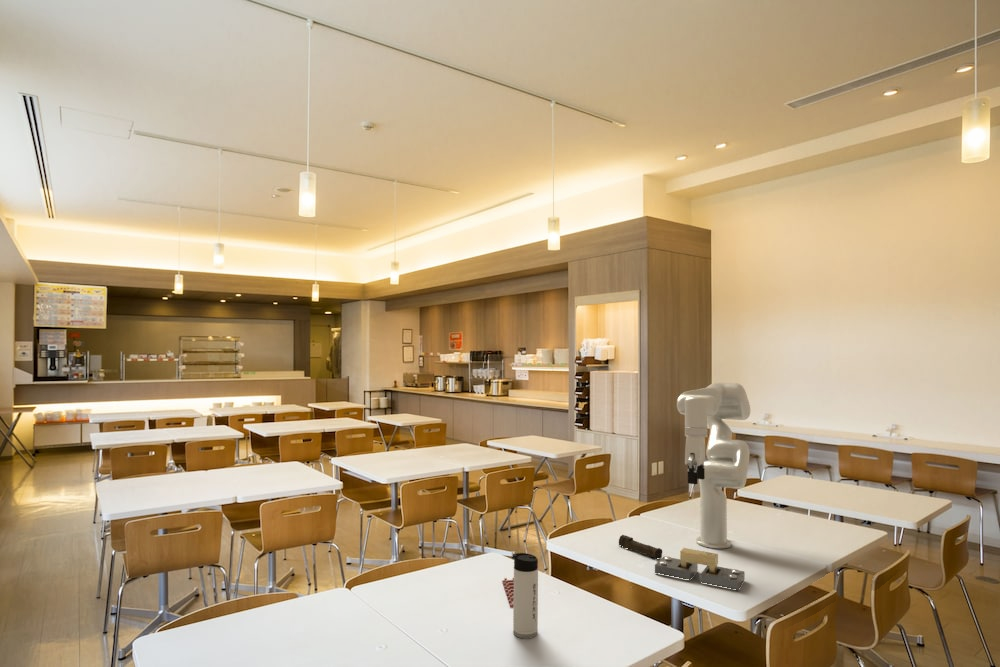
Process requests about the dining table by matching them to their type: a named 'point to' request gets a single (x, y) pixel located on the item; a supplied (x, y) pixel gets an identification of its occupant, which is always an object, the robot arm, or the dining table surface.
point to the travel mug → (525, 596)
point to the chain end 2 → (724, 577)
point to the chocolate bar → (509, 590)
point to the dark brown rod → (640, 547)
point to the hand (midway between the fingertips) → (696, 481)
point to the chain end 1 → (675, 568)
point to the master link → (699, 559)
